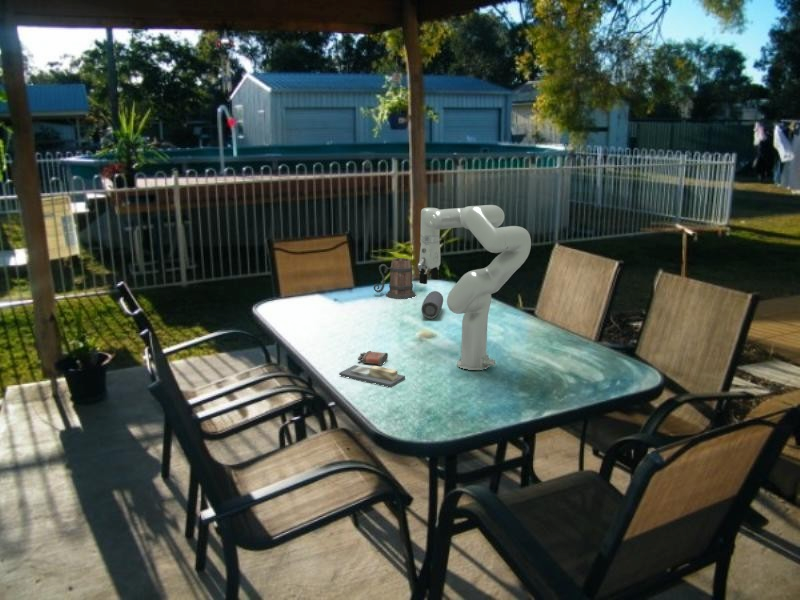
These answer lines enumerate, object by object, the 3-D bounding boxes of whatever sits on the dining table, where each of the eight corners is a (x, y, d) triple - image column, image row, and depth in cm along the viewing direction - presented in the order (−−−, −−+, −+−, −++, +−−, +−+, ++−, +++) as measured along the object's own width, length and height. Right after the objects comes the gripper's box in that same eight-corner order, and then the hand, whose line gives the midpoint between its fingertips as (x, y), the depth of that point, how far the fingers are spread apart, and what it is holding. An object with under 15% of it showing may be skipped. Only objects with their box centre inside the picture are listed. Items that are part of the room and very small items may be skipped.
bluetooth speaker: (439, 321, 316) (440, 301, 313) (420, 320, 317) (420, 300, 315) (444, 309, 338) (444, 290, 335) (425, 308, 339) (426, 289, 337)
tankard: (413, 291, 375) (413, 256, 370) (419, 298, 359) (419, 262, 354) (371, 293, 371) (371, 257, 366) (376, 300, 355) (376, 263, 350)
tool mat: (405, 379, 242) (405, 375, 241) (390, 387, 233) (390, 384, 233) (354, 368, 253) (354, 365, 252) (339, 375, 244) (339, 372, 244)
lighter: (387, 359, 262) (364, 356, 265) (387, 351, 261) (363, 348, 264) (380, 367, 255) (356, 364, 258) (380, 358, 254) (356, 355, 257)
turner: (399, 377, 240) (399, 369, 240) (390, 382, 235) (390, 374, 235) (360, 368, 249) (359, 360, 248) (350, 373, 244) (350, 365, 243)
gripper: (428, 243, 256) (427, 286, 261) (448, 237, 271) (446, 278, 275) (411, 241, 260) (410, 284, 264) (431, 235, 274) (430, 276, 279)
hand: (429, 281), depth 270 cm, fingers open, 9 cm apart
